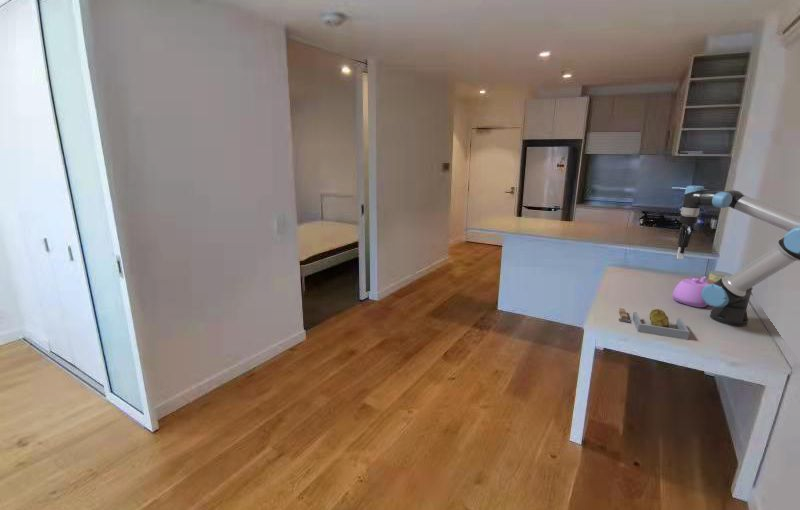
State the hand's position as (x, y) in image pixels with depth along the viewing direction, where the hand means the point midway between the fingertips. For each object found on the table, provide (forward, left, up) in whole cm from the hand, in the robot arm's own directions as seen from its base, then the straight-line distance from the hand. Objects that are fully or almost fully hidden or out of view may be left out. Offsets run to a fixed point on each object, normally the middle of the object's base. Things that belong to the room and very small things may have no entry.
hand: (679, 258), depth 203 cm
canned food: (-35, -46, -30) cm, 65 cm away
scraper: (+26, +24, -30) cm, 46 cm away
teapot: (-14, -16, -30) cm, 37 cm away
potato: (+11, +30, -30) cm, 43 cm away
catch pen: (+11, +32, -29) cm, 45 cm away
